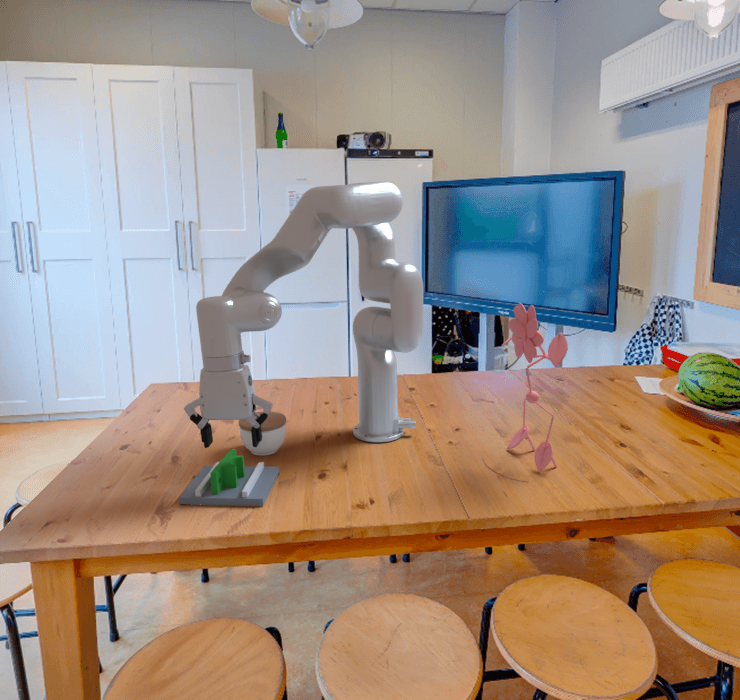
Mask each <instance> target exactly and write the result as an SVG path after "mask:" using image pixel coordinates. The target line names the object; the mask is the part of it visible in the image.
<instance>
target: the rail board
mask: <svg viewBox="0 0 740 700" xmlns="http://www.w3.org/2000/svg"><path fill="white" fill-rule="evenodd" d="M219 462H220V461H217V462H215V464H214V465H204V466H203V467H202V468H201V470H200V471H199V472H198V473H197V475H196V476H195V477H194V478H193V479H192V481H191V482H190V483H189V485H188V486H187V487H186V488H185V490H184V491H183V492H182V493H181V494H180V496H179V497H178V500H179V501H178V502H179V505H180V504H187V505H186V506H215V505H221V506H220V507H224V505H225V506H226V505H227V506H226V507H228V506H229V507H231V506H232V507H233V506H234V507H264V505H265V503H266V501H267V499H268V497H269V496H270V493H271V491H272V490H273V489H272V488H273V487H274V485H275V482H276V480H277V479H278V476H279V474H280V469H279V468H280V467H279V466H265V462H264V461H262V462H261V461H259V462H258V463H257V465H256V466H254V465H253V466H249V465H248V466H245V465H244V468H245V477H244V478H237V483H238V486H237V488H228V487H223V489H222V490H221V491H220V493H219V494H218V495H217V494H212V484H211V472H212V471H213V469H214V468H215V467H216V466H217V465H218V464H219ZM188 504H190V505H188ZM191 504H192V505H191ZM195 504H196V505H195ZM197 504H198V505H197ZM200 504H201V505H200ZM222 505H223V506H222Z"/></svg>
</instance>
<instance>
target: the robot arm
mask: <svg viewBox="0 0 740 700" xmlns="http://www.w3.org/2000/svg"><path fill="white" fill-rule="evenodd" d="M403 203H404V201H403V196H402V192H401V191H400V189H399V188H398V186H396V184H394V183H392V182H390V181H371V182H370V181H368V182H355V183H354V182H352V183H348V184H337V185H324V186H323V185H322V186H321V185H320V186H316V187H315V186H314V187H311V188H309V189H308V190H306V191H305V192H304V194H302V196H301V197H300V199H299V200H298V202H297V203H296V205H294V207H293V209H292V210H291V212H290V214H289V215H288V217H287V218H286V220H285V221H284V223H283V224H282V225H281V227H280V228H279V230H278V231H277V233H276V234H275V236H274V238H273V239H272V240H271V241H269V243H267V244H266V245H264V246H263V247H262V248H261V249H260V250H259V251H258V252H256V253H255V254H254V255H253V256H251V257H250V258H249V259H247V261H245V262H244V263H243V264H242V265H241V266H240V267H239V268H238V270H237V271H236V272H235V274H234V275H233V276H232V278H231V279H230V281H229V283H228V284H227V285H226V287H225V289H224V290H223V292H222V294H221V295H218V296H217V295H216V296H215V295H214V296H208V297H204V298H201V299H199V300H198V302H197V303H196V306H195V309H196V318H197V319H196V320H197V326H198V327H197V328H198V334H199V335H198V336H199V341H200V342H199V344H200V351H201V358H202V359H201V360H202V366H203V367H202V369H200V373H199V385H198V386H199V397H198V398H196V399H194V400H193V401H191V402H189V403H187V404H186V405H185V406H184V407H183V410H184V412H185V413H186V414H187V416H188V417H189V420H190V421H191V422H192V423H193V424H195V425H196V427H197V428H198V429H199V430H200V431H199V432H200V439H201V442H202V443H203V448H204V449H208V448H209V447H210V446H211V445H212V444H213V442H214V439H213V430H212V424H211V423H209V421H233V420H234V421H237V420H238V421H239V420H243V419H246V420H247V421H248V422H249V423H250V424H251V425H252V426H253V427H252V428H251V434H252V444H253V447H257V446H258V444H259V442H260V441H262V430H261V424H262V423H263V422H264V421H265V420H266V419H267V417H268V416H269V413H270V412H272V409H273V407H274V404H273V402H271V401H268V400H266V399H265V398H261V397H260V396H257V395H256V391H255V385H254V380H253V378H252V373H251V369H250V366H249V365H248V364H247V363H250V362H251V358H252V357H251V355H250V354H245V352H244V350H243V342H242V335H241V334H242V333H249V332H250V333H251V332H252V333H253V332H262V331H267V330H270V329H272V328H273V327H275V326H276V325H277V324H278V323H279V321H280V320H281V318H282V313H283V310H282V309H283V308H282V306H281V303H280V301H279V300H278V299H277V298H276V296H274V295H273V294H271V293H268V292H265V290H266V289H267V288H268V287H269V286H271V285H272V284H273V283H275V282H276V281H277V280H279V279H281V278H282V277H285V276H288V275H290V274H292V273H295V272H297V271H299V270H301V269H303V268H305V267H306V266H308V265H309V263H310V262H311V261H312V259H313V257H314V256H315V254H316V252H317V251H318V249H320V248H319V247H320V246H321V245H322V244H323V242H324V240H325V239H326V237H327V236H328V234H329V232H330V231H331V230H333V229H352V230H353V232H354V234H355V236H356V237H355V238H356V240H357V245H358V246H357V247H358V249H357V250H358V288H359V292H360V295H361V296H362V297H364V299H366V300H368V301H372V302H377V303H383V304H389V305H390V308H389V307H381V306H367V307H364V308H362V309H360V310H359V311H358V312H357V314H355V317H354V319H353V322H352V335H353V340H354V343H355V348H356V357H357V382H358V383H357V385H358V386H357V390H358V423H357V424H356V425H354V427H353V428H352V435H353V436H354V437H355V438H356V439H358V440H360V441H364V442H369V443H386V442H392V441H395V440H398V439H399V438H401V437H403V435H404V432H405V431H404V430H405V429H416V425H417V422H416V421H417V420H411V417H406V418H405V417H401V416H400V413H399V412H398V362H397V357H396V354H395V353H401V354H407V353H411V352H413V351H414V350H415V349H416V348H417V347H418V345H419V343H420V342H421V339H422V335H423V324H424V320H423V319H424V282H423V281H424V280H423V277H422V275H421V273H420V271H419V269H418V268H417V267H416V266H415V265H413V264H411V263H409V262H404V261H403V262H402V261H397V259H396V241H395V235H394V231H393V229H392V227H391V225H390V222H393V221H394V220H395V219H396V218H397V217H398V216H399V215H400V214H401V212H402V209H403ZM197 407H200V408H199V409H200V414H199V413H198V412H196V408H197ZM257 407H259V408H262V409H263V410H262V412H263V413H262V414H261V415H260V416H259V415H258V414H257V413H256V412H257V411H256V410H257Z"/></svg>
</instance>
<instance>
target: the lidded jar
mask: <svg viewBox="0 0 740 700" xmlns="http://www.w3.org/2000/svg"><path fill="white" fill-rule="evenodd" d="M255 412H256V413H257V414H258V415H259V416H260V415H261V414H262V413H263V411H258V412H257V411H255ZM238 426H239V434H240V438H241V441H242V443H243V446H245V448H246V449H247V450H248V451H250V452H251V454H252V455H254V456H263V457H264V456H270V455H273V454H275V453H276V452H278V450H279V449H280V447H281V446H282V445H283V443H284V441H285V438H286V434H287V417H286V415H285V414H284V413H281V412H278V411H270V413H269V416H268V417H267V419H266V420H265V421H264V422H263V423H262V424H261V430H262V441H260V442H259V444H258V446H257V447H253V444H252V434H251V428H252V427H253V426H252V425H251V424H250V423H249V422H248V421H247V420H246V419H243V420H238Z"/></svg>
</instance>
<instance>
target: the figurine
mask: <svg viewBox="0 0 740 700" xmlns="http://www.w3.org/2000/svg"><path fill="white" fill-rule="evenodd" d="M513 313H514V317H515V318H514V317H513V318H511V319H509V321H508V324H507V326H508V328H509V330H510V331H511V332H512V335H511V336H510V337H508V338H507V340H505V342H503V343H502V344H501V347H504V346H505V345H506V344H508V343H509V342H510V341H511V342H512V344H514V346H513V347H514V354H515V356H516V358H517V359H520V358H521V357H522V355H523V354H524V357H525V360H526V361H527V362H528V365H527V366H526V368H525V372H526V378H527V384H528V388H529V391H528V392H527V393H526V395H525V398H524V399H523V415H522V416H523V417H522V419H523V420H522V421H523V422H522V423H523V424H522V427H521V428H519V429H518V431H516V432H515V434H514V435H513V436H512V437H511V440H510V441H509V443H508V446H507V447H506V450H512V449H514V448H516V447H517V446H519V445H520V444H521V443H522V442H523V441H524V440H525V439H526V438H527V441H528V442H529V444H530V446H531V448H532V450H533V452H534V463H535V467H536V469H537V471H538V473H541V472H542V471H544V470H545V468H546V467H547V466H549V464H550V463H551V462H552V464H553V467H554V468H557V467H558V465H557V463H556V460H555V459H554V456H553V453H554V452H553V445H552V443H550V442H549V438H550V434H551V431H552V426H553V422H554V419H555V415H554V414H553V413H551V411H549V410H548V409H547V408H545V407H544V406H543V405H541V404H540V403H539V402H538V401H539V398H540V396H539V394H538V392H537V391H536V390H532V386H531V385H532V383H531V379H530V378H531V377H530V371H529V368H531V367H533V366H535V365H536V364H538V363H540V362H541V361H543V360H544V359H545V360H549V361H550V363H551V364H552V365H553V366H554V367H555V368H557V367H558V366H560V367H562V366H563V361H564V359H565V358H566V355H567V353H568V349H569V343H568V341H567V337H566V336H564V335H563V334H564V333H562V332H558V333H557V335H555V336H554V337H553V338H552V339H551V341H550V342H549V344H548V349H547V352H545V350H544V349H543V347H542V345H543V343H544V336H543V334H541V332H539V331H538V327H539V323H538V320H537V313H536V308H535V306H534V305H533V304H531V305H529V307H528V309H527V310H526V307H525V306H524V305H523V303H521V302H518V305H516V306H515V307H513ZM537 347H538V348H539V349H540V352H541V354H538V351H537V350H538V349H537ZM536 358H538V359H536ZM533 359H536V360H534V361H533ZM526 401H527V402H528V403H529V404H536V405H537V406H539V408H541V409H542V410H543V411H545V412H546V413H548V414H549V415H550V416H551V419H550V424H549V428H548V431H547V436H546V439H545V441H543V442H541V443H540V444H539V445H538V447H537V448H535V445H534V443H533V441H532V440H531V437H530V435H529V429H530V428H529V426H528V425H527V426H526ZM483 462H484V464H486V462H485V461H484V459H483ZM484 467H485V468H487V469H488V468H489V469H490V471H492V472H494V473H496V474H498V475H500V476H501V477H503V479H510V480H515V481H518V482H522V483H529V481H525V480H520V479H516V478H512V477H509V476H506V475H503V474H501V473H498V472H497V471H495V470H493V469H492V468H490V467H489V466H488V465H485V466H484Z"/></svg>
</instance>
